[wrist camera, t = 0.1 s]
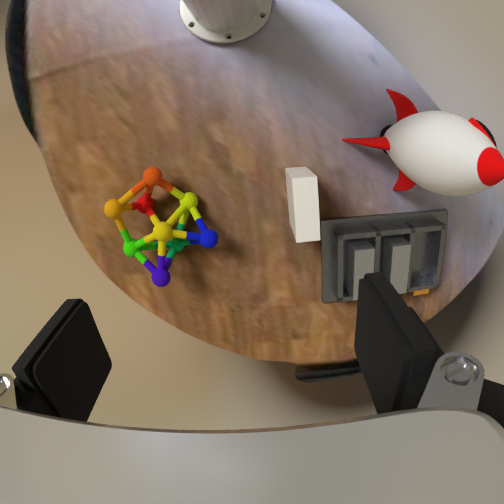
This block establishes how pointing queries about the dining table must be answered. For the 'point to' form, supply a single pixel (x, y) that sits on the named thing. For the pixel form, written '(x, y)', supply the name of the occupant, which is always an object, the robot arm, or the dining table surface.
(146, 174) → the decorative model
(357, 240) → the rack
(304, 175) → the block
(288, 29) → the dining table surface
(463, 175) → the rocket
